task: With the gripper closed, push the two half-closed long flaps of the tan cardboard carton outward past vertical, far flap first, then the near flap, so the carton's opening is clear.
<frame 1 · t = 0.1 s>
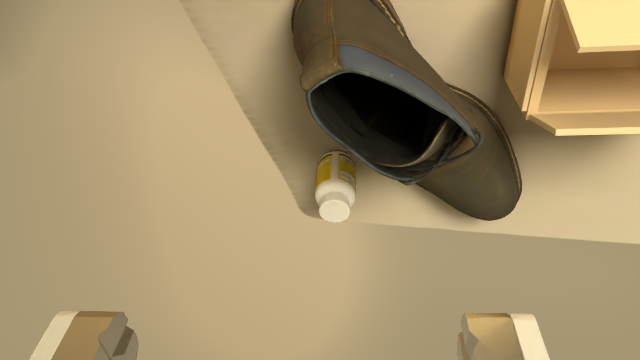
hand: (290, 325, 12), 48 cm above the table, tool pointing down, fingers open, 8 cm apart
boot: (417, 100, 62), on the table
supplement bottle: (336, 164, 69), on the table
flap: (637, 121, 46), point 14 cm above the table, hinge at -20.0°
carton: (597, 16, 53), on the table
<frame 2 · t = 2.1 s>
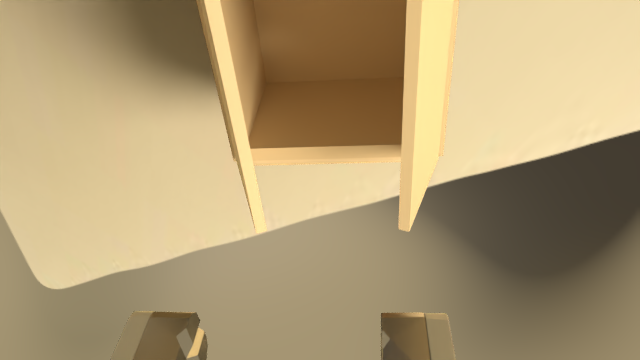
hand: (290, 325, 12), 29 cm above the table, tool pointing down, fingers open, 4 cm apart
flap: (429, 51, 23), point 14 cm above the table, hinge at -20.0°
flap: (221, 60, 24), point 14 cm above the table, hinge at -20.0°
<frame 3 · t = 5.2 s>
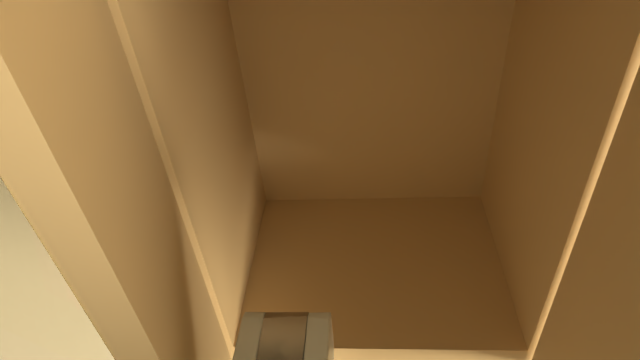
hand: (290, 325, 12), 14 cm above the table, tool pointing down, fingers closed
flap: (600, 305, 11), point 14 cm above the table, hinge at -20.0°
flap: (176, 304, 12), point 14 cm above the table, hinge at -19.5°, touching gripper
carton: (369, 61, 22), on the table
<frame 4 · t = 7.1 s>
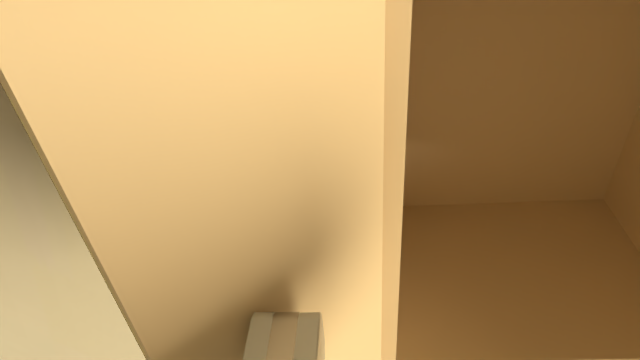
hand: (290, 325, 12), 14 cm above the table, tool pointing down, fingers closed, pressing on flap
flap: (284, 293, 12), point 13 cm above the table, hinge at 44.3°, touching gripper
carton: (512, 61, 22), on the table
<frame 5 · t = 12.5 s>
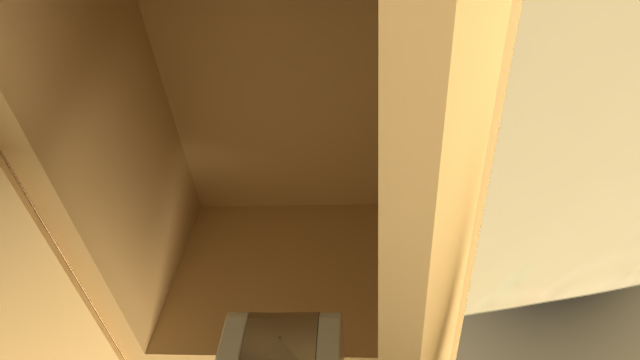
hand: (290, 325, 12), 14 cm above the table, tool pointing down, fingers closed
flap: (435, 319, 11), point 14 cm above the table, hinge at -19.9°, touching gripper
carton: (288, 70, 23), on the table
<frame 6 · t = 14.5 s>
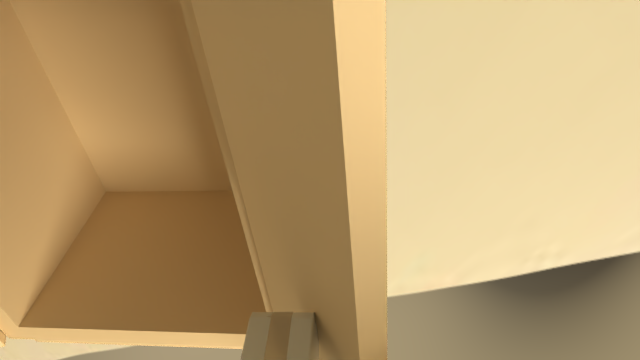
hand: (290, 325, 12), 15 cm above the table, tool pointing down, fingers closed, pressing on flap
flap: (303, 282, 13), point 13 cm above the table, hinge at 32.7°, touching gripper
carton: (163, 62, 24), on the table
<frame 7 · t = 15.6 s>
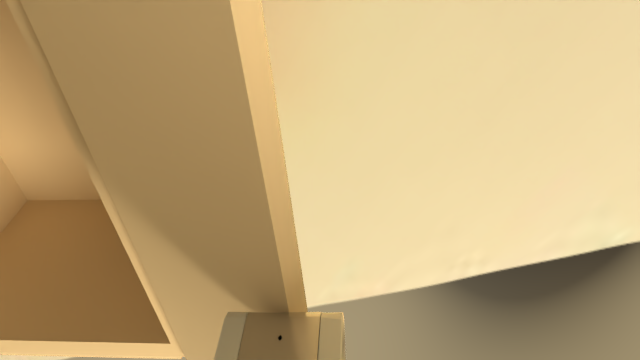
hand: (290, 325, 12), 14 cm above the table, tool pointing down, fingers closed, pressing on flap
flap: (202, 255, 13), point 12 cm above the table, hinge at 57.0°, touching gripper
carton: (73, 70, 24), on the table
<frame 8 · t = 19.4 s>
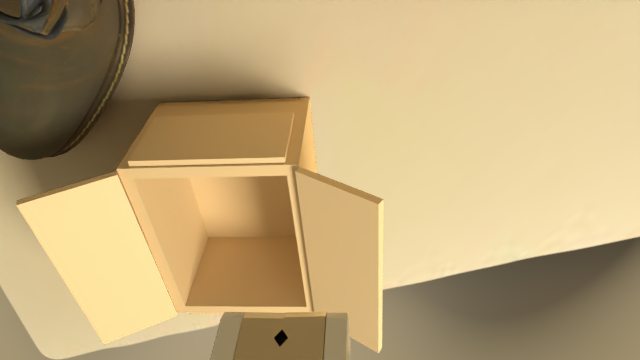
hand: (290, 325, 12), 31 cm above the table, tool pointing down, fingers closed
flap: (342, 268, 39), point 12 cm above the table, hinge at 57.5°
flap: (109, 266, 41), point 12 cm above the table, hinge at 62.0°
carton: (249, 177, 49), on the table
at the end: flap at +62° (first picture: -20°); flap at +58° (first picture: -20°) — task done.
